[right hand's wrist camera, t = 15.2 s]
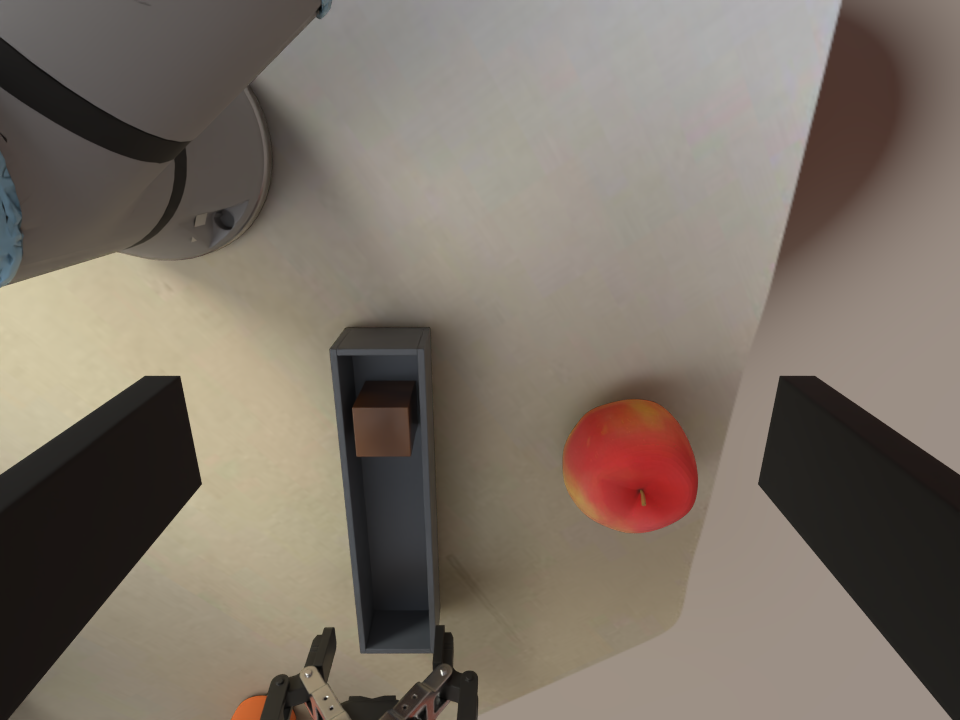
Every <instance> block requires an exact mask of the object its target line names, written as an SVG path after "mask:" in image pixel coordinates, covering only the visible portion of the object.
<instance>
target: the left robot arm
mask: <svg viewBox="0 0 960 720" xmlns="http://www.w3.org/2000/svg"><path fill="white" fill-rule="evenodd" d="M335 651H336V635H335V628H334V627H329V628H324V630H323V634H322V635H317V636H316V637H315V638H314V640H313V642H312V645H311V648H310V652H309V655H308V658H307V661H306V664H305V667H304V669H302V671H301V672H300V673H299V674H298V675H295V676H292V677H288V676H287V675H285V674H281V675H278V676H276V677H275V678H273V680H272V681H271V684H270V687H269V691H268V694H267V697H266V701H265V704H264V707H263V710H262V714H261V717H260V720H290V717H291V713H292V709H293V706H296V705H299V704H302V703H305V705H306V707H307V709H308V711H309V713H310V714H311V716H312V718H313V720H436V718H437V716H438V715H439V714H440V713H441V712H442V710H443V709H444V708H445V707H446V706H447V705H448V703H449V702H450V701H454V702H457V703H458V713H457V720H477V717H478V695H477V692H478V676H477V674H476V673H475V672H474V671H465V672H464V673H459V672H457V671H456V670H455V669H454V668H453V656H454V646H453V636H452V634H451V632H445V625H436V626H435V639H434V652H433V672H432V673H431V674H430V675H429V676H428V677H427V678H426V679H425V680H424V681H423V682H422V683H421V682H417V683H416V684H415V685H414V686H413V687H412V688H411V689H410V690H409V691H408V692H407V693H406V695H405V696H404V697H403V698H402V699H401V700H400V701H399V700H396V696H381V697H377V698H373V699H371V698H366V697H362V696H349V700H348V701H345V702H343V703H341V704H340V702H339V701H338V699H337V697H336V696H335V694H334V692H333V691H332V689H331V687H330V686H329V684H328V683H327V681H328V677H329V673H330V670H331V666H332V662H333V658H334V655H335Z"/></svg>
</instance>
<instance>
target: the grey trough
mask: <svg viewBox="0 0 960 720" xmlns="http://www.w3.org/2000/svg"><path fill="white" fill-rule="evenodd" d="M329 350H330V360H331V370H332V380H333V389H334V399H335V409H336V419H337V428H338V438H339V448H340V458H341V468H342V477H343V487H344V497H345V507H346V516H347V526H348V536H349V546H350V556H351V565H352V575H353V585H354V595H355V604H356V614H357V624H358V634H359V644H360V653H433V652H434V639H435V626H436V625H439V618H440V589H439V561H438V533H437V504H436V476H435V448H434V419H433V391H432V363H431V335H430V328H345V329H344V330H343V332H342V333H341V334H340V336H339V337H338V338H337V340H336V341H335V343H334V344H333V345H332V347H331V348H330V349H329ZM365 381H416V398H417V419H418V427H417V431H416V435H415V440H414V444H413V449H412V453H411V456H410V457H357V456H356V445H355V434H354V423H353V412H352V407H353V405H354V403H355V401H356V399H357V397H358V395H359V393H360V391H361V389H362V387H363V385H364V383H365Z"/></svg>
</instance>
